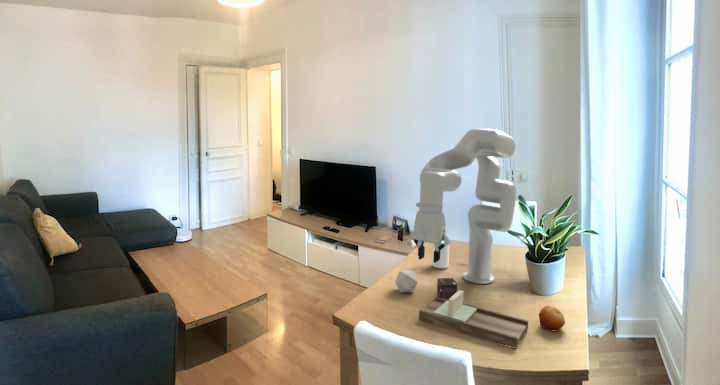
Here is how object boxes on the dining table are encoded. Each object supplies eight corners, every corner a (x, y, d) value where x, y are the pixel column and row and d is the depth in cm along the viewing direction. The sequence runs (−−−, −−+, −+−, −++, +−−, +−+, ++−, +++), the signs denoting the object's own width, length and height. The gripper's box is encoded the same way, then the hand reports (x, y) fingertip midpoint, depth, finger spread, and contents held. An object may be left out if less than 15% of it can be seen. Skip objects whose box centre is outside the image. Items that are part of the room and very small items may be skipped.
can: (443, 270, 196) (444, 244, 193) (429, 266, 200) (430, 241, 198) (451, 266, 201) (452, 240, 199) (437, 262, 205) (438, 237, 203)
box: (436, 296, 169) (437, 278, 168) (451, 295, 170) (452, 277, 168) (440, 303, 163) (441, 284, 162) (456, 302, 164) (457, 283, 162)
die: (410, 299, 168) (423, 277, 169) (391, 287, 168) (404, 265, 170) (408, 297, 176) (420, 276, 177) (389, 286, 176) (401, 265, 178)
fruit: (535, 314, 152) (550, 298, 148) (555, 331, 149) (571, 315, 145) (529, 323, 145) (544, 307, 142) (550, 341, 142) (566, 325, 139)
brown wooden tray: (436, 305, 161) (436, 296, 161) (527, 330, 144) (528, 320, 143) (418, 320, 150) (419, 310, 149) (515, 349, 132) (516, 338, 132)
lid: (446, 302, 157) (447, 285, 156) (476, 310, 151) (478, 293, 150) (433, 314, 148) (434, 296, 147) (465, 323, 142) (466, 305, 141)
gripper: (403, 206, 150) (401, 258, 154) (450, 213, 141) (447, 268, 144) (413, 203, 156) (411, 252, 160) (459, 209, 147) (456, 261, 151)
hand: (428, 259), depth 152 cm, fingers open, 4 cm apart
